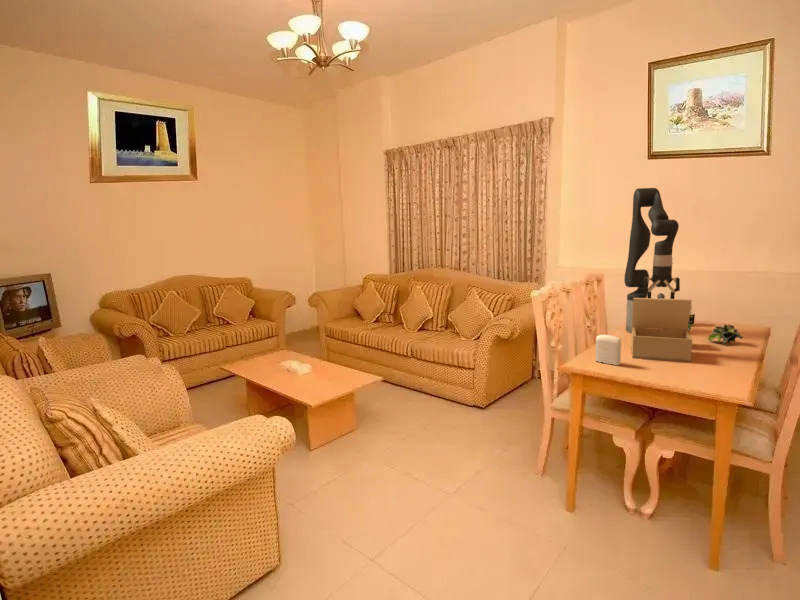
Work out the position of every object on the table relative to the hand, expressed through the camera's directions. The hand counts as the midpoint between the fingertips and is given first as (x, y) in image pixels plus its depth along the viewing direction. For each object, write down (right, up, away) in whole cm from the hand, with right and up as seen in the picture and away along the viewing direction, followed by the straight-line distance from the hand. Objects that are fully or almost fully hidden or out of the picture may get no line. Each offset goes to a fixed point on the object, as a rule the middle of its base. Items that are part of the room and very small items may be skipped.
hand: (660, 300), depth 207 cm
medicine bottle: (+39, -14, +45) cm, 61 cm away
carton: (-2, -25, -3) cm, 25 cm away
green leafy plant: (+35, -21, +9) cm, 42 cm away
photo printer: (-29, -27, -10) cm, 41 cm away
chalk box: (+12, -22, +9) cm, 27 cm away
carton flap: (-1, -7, -2) cm, 7 cm away
